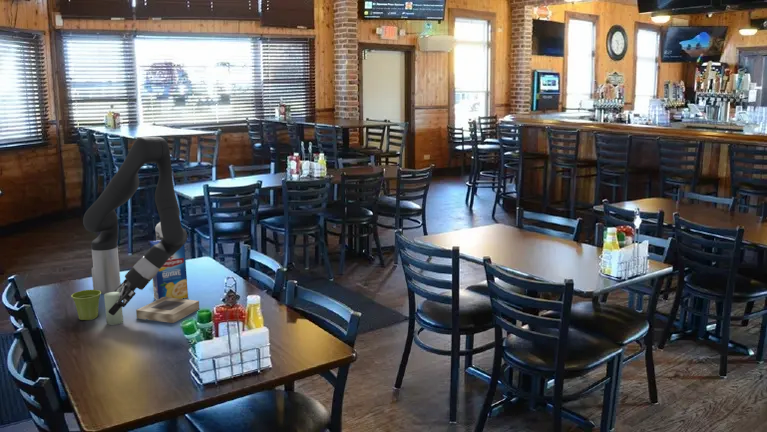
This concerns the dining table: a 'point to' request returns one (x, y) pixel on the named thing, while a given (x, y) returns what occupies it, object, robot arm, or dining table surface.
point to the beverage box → (171, 276)
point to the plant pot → (87, 303)
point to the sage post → (109, 302)
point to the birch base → (167, 309)
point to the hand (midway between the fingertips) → (109, 309)
